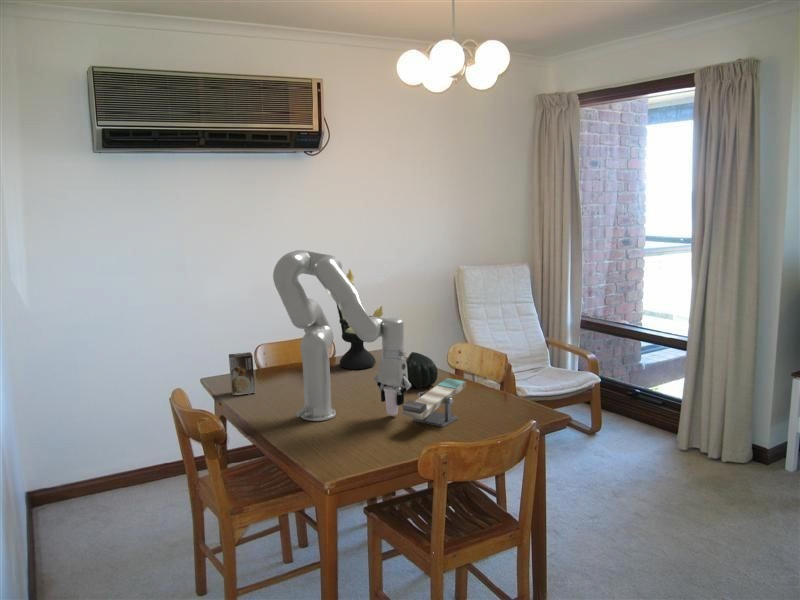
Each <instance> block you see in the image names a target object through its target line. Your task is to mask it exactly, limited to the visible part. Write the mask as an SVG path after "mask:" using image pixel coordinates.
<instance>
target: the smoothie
mask: <svg viewBox="0 0 800 600" xmlns="http://www.w3.org/2000/svg"><path fill="white" fill-rule="evenodd" d="M400 389H401V387H400ZM384 391H385V400H386V401H385V406H386V408H385V409H386V414H387V415H389V416H396V415H398V411H399V406H398V405H397V395H398V391H397V388H396V387H395V386H390V385H387V386H384Z"/></svg>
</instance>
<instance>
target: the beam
mask: <svg viewBox="0 0 800 600" xmlns="http://www.w3.org/2000/svg"><path fill="white" fill-rule="evenodd" d="M466 387H467V381H466V380H461V379H460V380H459V379H453V378H448V377H446V378H445V379H444V380H443V381H441V382H440V383H437V384H436V385H435V386H434V387H433V388H431V389H430V390H428V391H427V392H426V393H425V394H424V395H423V396H421V397H420V398H419V397H418V398H417V399H416V400H410V399H409V400H407V401H406V402H404V403H403V404H402V405H401V406H402V410H401V416H403V417H407V418H411V419H413V418H415V419H420V420H423V419H424V418H425V417H427V416H428V415H429V414H431V413H432V412H433V411H435V412H436V410H437V409H439V408H440V407H442V406H443V405H445V398H446V397H451V398H452V399H453V397H455V396H456V395H457V394H459V393H460V392H461V391H463V390H464V389H465V388H466Z"/></svg>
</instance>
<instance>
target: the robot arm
mask: <svg viewBox="0 0 800 600" xmlns="http://www.w3.org/2000/svg"><path fill="white" fill-rule="evenodd" d="M303 274H304V275H309V276H314V277H316V278H317V280H318V281H319V283H320V284H321V286H323V288H324V289H325V290H326V292H327V293H328V294H329V295H330V297H331V298H332V300H334V302H335V303H337V304H336V306H337V305H338V307H339V309H340V311H341V312H342V314H343V316H344V318H345V320H346V321H347V323H348V324H349V326H350V327H351V328H352V329H353V331H354V332H355V333H356V335H357V336H358V337H359V338H360V339H361V340H362V341H364V342H363V343H367V344H368V343H374V342H376V341H377V340H378V338H379V337H381V339H382V340H381V356H380V360H379V364H378V374H377V375H376V376H375V377H374V381H375V383H376V385H377V386H378V389H379V391H380V399H381V400H380V401H381V402H382V403H383V402H386V400H385V391H384V386H387V385H390V386H395V387H396V388H397V391H398V395H397V405H398V407H400V406H402V405H403V404H404V403H405V394H406V392H407V391H408V390H409V389H410V387H411V384H410V382H409V381H408V373H407V364H406V360H407V359H406V352H404V335H405V334H404V332H405V331H404V330H405V329H404V328H405V327H404V326H405V325H404V323H405V322H404V321H403V319H401V318H396V317H389V318H385V317H373V315H371V316H372V317H369V316H370V315H369V314H368V313H367V311H366V310H365V308H364V307H363V305H362V303H361V300H360V297H359V293H358V290H357V288H356V287H355V285H354V284H352V283H351V282H350V280H349V279H348V278H347V274H345V273H344V271H343V265H342V261H341V260H340V259H339V258H338V257H336V256H335V255H330V254H326V253H320V252H314V251H309V250H304V249H296V250H293V251H290V252H287V253H285V254H284V255H282V257H280V259H278V260H277V262H276V264H275V266H274V268H273V274H272V280H273V285H274V287H275V289H276V291H277V293H278V295H279V297H280V299H281V301H282V304H283V307H284V308H285V311H286V312H287V315H288V317H289V319H290V322H291V323H292V324H293V326H294V327H295V328H296V329H301V330H303V331H304V333H305V334H304V335H303V337H302V339H301V341H300V356H301V360H302V375H303V396H304V400H303V401H304V405H302V408H301V409H300V410H297V411H296V412H295V416H296V418H301V419H303V420H306V421H309V422H310V421H311V422H321V421H327V420H331V419H333V418H334V417H335V416H336V415H337V411H336V410H335V409H334V408H332V395H331V394H332V391H331V390H332V389H331V388H332V387H331V370H330V368H331V366H330V365H331V364H330V358H329V348H330V347H332V344H333V342H334V333H333V331H332V328H331V325H330V324H329V321H328V319H327V317H326V314H325V313H324V310H323V308H322V306H321V305H320V304H319V303H318V302H317V301H316V300H315V299H313V298H309V297H307V294H306V291H305V288H304V287H303V285H302V284H301V283H300V281H299V276H301V275H303ZM400 387H401V389H400Z"/></svg>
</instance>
